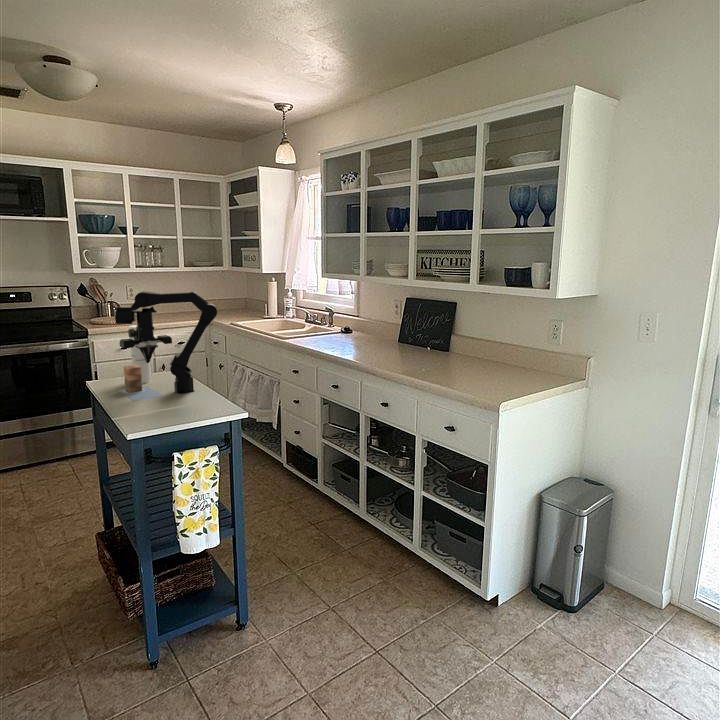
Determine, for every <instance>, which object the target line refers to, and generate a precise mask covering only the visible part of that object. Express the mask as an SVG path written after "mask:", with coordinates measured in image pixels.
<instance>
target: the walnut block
mask: <svg viewBox="0 0 720 720" xmlns="http://www.w3.org/2000/svg"><path fill="white" fill-rule="evenodd" d="M142 387H143V384H142V382H141V379H139V380H132V381H128V380H126V379H125V378H124V390H126V391H127V392H129V393H133V392H139V391H142Z"/></svg>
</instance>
